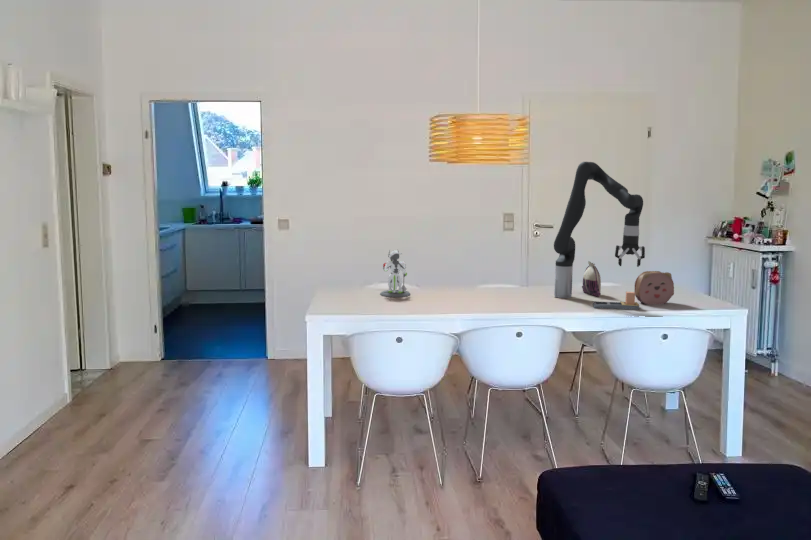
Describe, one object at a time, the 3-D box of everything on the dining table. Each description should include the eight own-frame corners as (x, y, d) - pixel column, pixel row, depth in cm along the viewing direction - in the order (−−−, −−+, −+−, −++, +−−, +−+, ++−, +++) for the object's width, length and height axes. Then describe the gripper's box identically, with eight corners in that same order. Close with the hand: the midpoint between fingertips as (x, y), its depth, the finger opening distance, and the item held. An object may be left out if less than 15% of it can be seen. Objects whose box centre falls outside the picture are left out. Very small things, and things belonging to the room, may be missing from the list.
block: (626, 308, 369) (626, 292, 368) (625, 307, 373) (625, 291, 372) (634, 308, 368) (635, 293, 367) (633, 307, 372) (634, 291, 371)
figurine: (411, 292, 414) (411, 248, 410) (408, 297, 397) (409, 251, 393) (382, 291, 415) (382, 248, 412) (378, 296, 399) (378, 251, 395)
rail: (594, 308, 369) (594, 303, 369) (592, 305, 377) (592, 300, 377) (639, 309, 366) (639, 305, 366) (636, 306, 374) (636, 302, 373)
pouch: (573, 291, 419) (575, 258, 416) (586, 290, 421) (588, 258, 419) (595, 298, 395) (597, 264, 393) (609, 298, 397) (611, 263, 395)
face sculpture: (639, 304, 379) (640, 273, 376) (632, 302, 385) (633, 271, 383) (674, 303, 382) (675, 272, 380) (666, 301, 389) (668, 270, 387)
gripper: (644, 234, 369) (642, 265, 371) (615, 233, 371) (613, 264, 373) (647, 235, 361) (644, 268, 364) (617, 234, 364) (615, 266, 366)
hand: (629, 266), depth 369 cm, fingers open, 8 cm apart
